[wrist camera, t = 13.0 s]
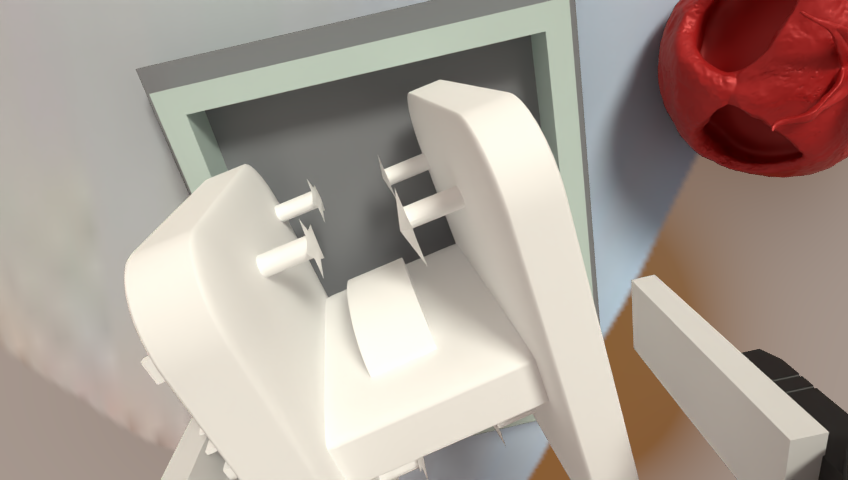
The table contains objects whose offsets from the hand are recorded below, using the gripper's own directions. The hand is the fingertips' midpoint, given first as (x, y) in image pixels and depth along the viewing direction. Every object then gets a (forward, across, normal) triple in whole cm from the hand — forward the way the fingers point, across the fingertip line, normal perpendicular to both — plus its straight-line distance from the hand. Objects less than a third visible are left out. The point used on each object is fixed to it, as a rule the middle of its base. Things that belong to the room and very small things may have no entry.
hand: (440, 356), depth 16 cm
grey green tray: (+10, +1, 0) cm, 10 cm away
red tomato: (+10, -16, -6) cm, 20 cm away
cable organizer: (+8, +2, 0) cm, 8 cm away
